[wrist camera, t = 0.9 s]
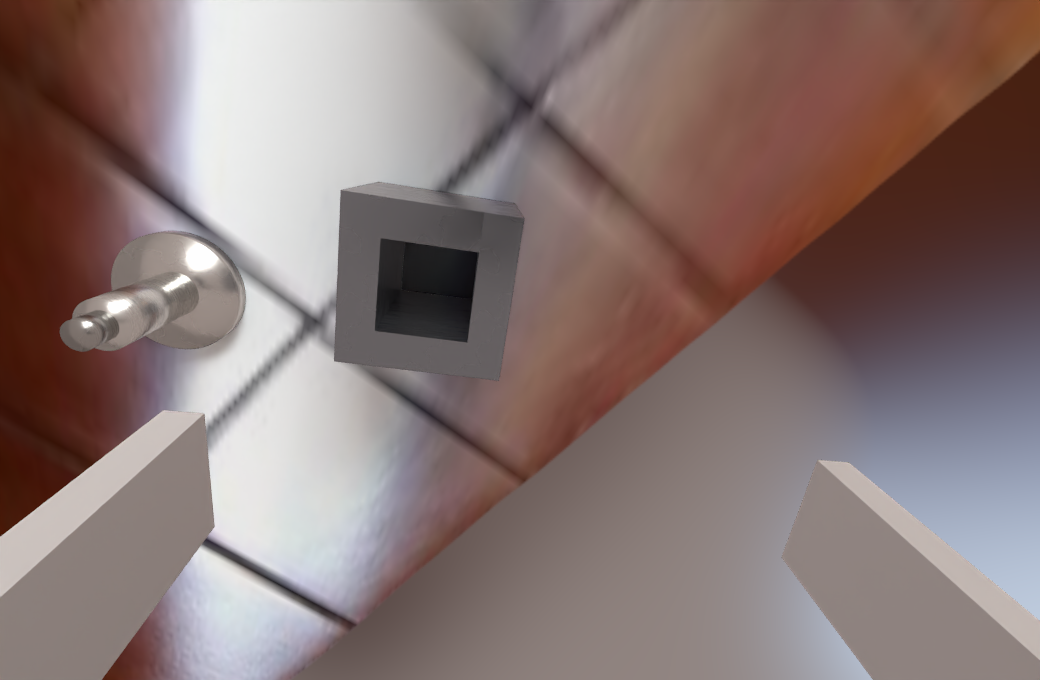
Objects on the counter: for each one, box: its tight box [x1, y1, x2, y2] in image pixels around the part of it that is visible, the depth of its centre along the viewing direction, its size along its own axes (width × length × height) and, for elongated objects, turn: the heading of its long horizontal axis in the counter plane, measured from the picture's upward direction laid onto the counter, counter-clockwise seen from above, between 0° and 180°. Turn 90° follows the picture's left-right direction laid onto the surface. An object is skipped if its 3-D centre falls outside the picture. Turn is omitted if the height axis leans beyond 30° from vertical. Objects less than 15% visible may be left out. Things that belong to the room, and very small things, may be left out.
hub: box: [60, 231, 246, 351], centre depth 26 cm, size 7×7×8 cm
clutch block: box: [334, 182, 524, 381], centre depth 27 cm, size 8×8×8 cm
